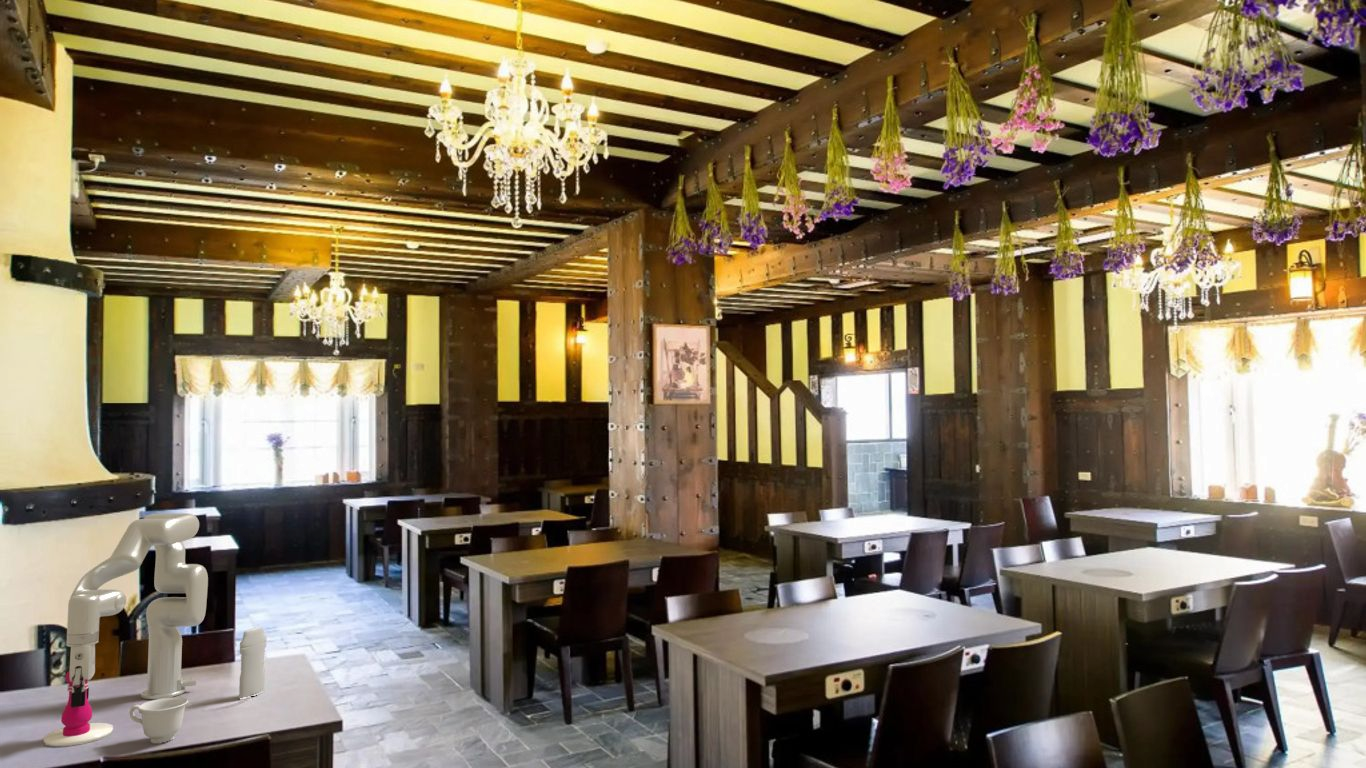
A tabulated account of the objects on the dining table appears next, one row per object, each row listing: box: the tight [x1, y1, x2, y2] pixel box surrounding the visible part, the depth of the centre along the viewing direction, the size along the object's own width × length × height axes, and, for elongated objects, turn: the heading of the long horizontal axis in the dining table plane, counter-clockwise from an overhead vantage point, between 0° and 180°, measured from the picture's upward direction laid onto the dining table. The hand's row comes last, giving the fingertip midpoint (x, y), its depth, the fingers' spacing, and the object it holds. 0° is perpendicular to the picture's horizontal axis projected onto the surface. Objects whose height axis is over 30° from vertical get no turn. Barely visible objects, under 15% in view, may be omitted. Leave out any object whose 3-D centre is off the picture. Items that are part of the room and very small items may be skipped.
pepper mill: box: [60, 669, 93, 736], centre depth 240 cm, size 7×7×20 cm
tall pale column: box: [238, 626, 267, 699], centre depth 278 cm, size 11×4×22 cm, turn 161°
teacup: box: [128, 696, 189, 744], centre depth 237 cm, size 12×15×10 cm
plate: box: [43, 722, 114, 747], centre depth 240 cm, size 16×16×1 cm
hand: (79, 703), depth 240 cm, fingers closed on pepper mill, 5 cm apart
